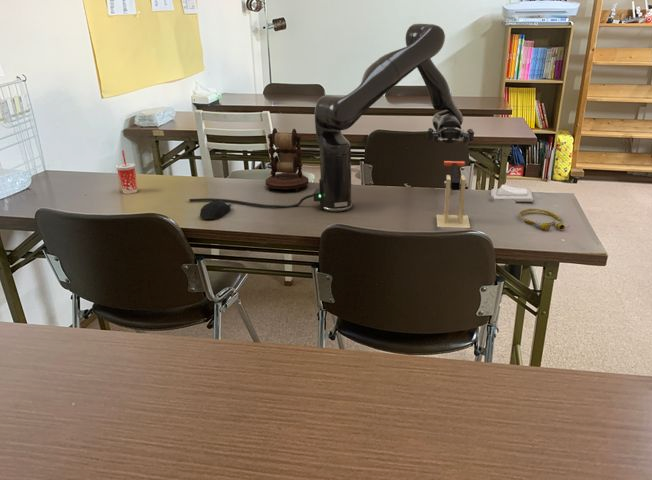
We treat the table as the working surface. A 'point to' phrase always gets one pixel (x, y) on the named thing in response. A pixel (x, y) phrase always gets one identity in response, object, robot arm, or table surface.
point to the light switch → (513, 194)
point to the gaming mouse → (214, 210)
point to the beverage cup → (127, 176)
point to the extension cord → (541, 224)
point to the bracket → (459, 219)
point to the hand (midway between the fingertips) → (451, 139)
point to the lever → (455, 173)
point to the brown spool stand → (285, 161)
